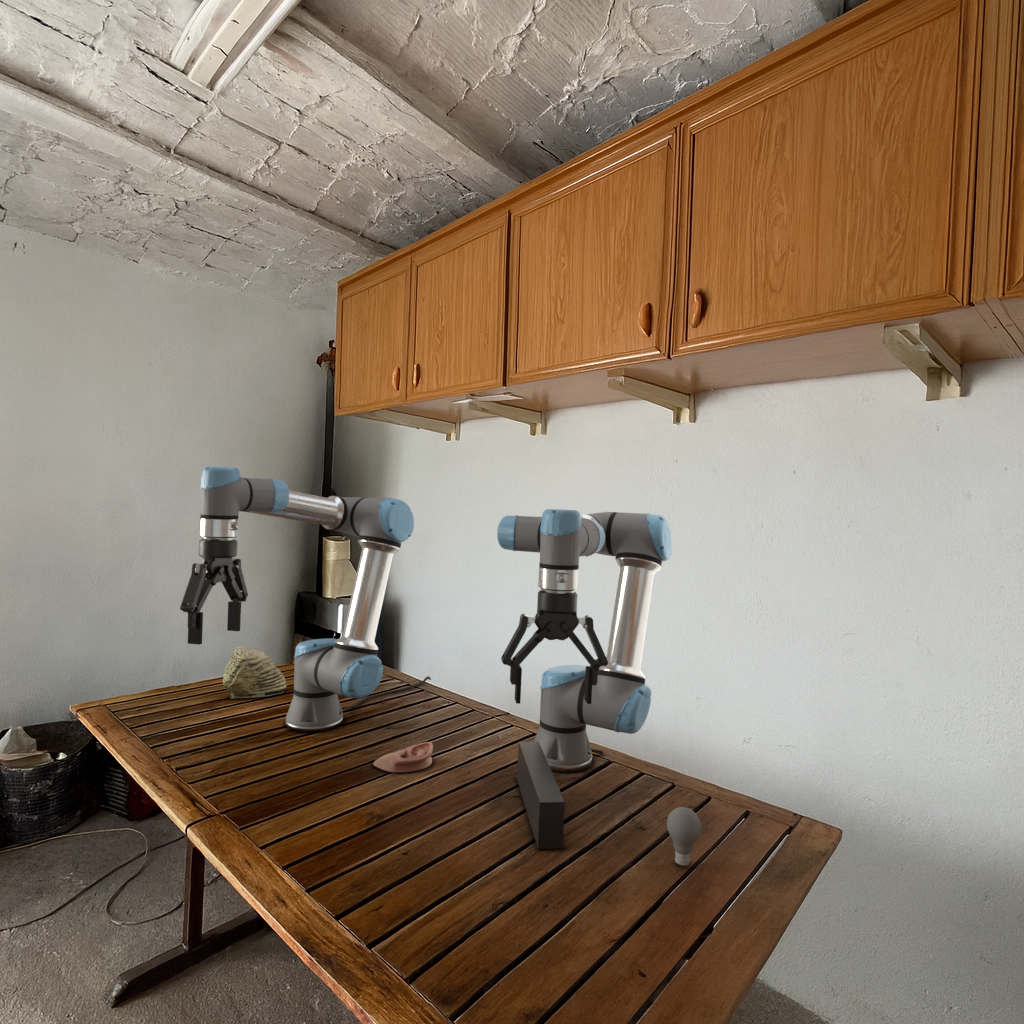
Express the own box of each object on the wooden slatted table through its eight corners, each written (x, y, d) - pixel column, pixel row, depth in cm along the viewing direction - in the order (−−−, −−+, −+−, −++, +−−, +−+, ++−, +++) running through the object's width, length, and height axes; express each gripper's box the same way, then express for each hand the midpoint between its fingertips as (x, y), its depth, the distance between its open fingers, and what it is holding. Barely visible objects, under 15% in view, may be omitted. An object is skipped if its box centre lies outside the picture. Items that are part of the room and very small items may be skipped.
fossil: (218, 695, 195) (220, 647, 195) (278, 685, 208) (279, 640, 207) (228, 703, 189) (230, 653, 188) (289, 692, 201) (290, 645, 201)
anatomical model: (368, 752, 148) (387, 734, 159) (367, 769, 148) (386, 750, 159) (422, 759, 145) (438, 741, 156) (421, 776, 145) (437, 757, 156)
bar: (516, 779, 146) (518, 741, 146) (537, 778, 147) (538, 741, 147) (537, 849, 117) (539, 802, 117) (562, 848, 118) (564, 802, 118)
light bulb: (660, 854, 117) (663, 800, 117) (692, 854, 117) (694, 801, 117) (671, 873, 111) (674, 817, 111) (704, 873, 111) (707, 817, 111)
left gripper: (197, 543, 123) (193, 651, 124) (265, 536, 148) (262, 627, 148) (162, 541, 124) (158, 648, 125) (236, 535, 149) (233, 624, 149)
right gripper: (494, 591, 115) (489, 707, 115) (627, 595, 118) (622, 708, 118) (490, 585, 122) (486, 694, 123) (616, 589, 125) (611, 695, 126)
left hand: (215, 637), depth 137 cm, fingers open, 13 cm apart
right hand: (552, 701), depth 121 cm, fingers open, 13 cm apart
